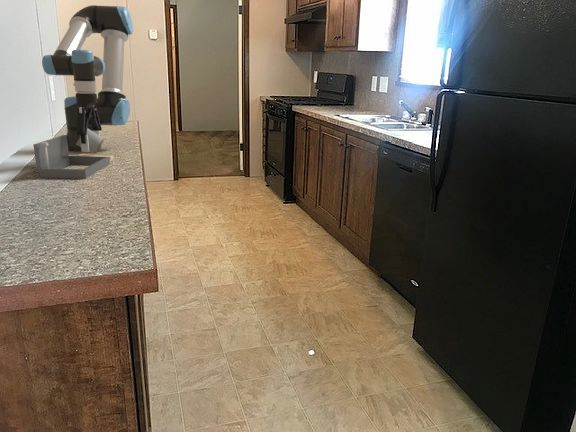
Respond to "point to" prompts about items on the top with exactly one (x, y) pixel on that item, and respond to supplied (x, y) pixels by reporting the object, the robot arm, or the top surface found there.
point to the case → (64, 160)
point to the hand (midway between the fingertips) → (91, 149)
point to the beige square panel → (100, 155)
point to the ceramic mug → (92, 141)
